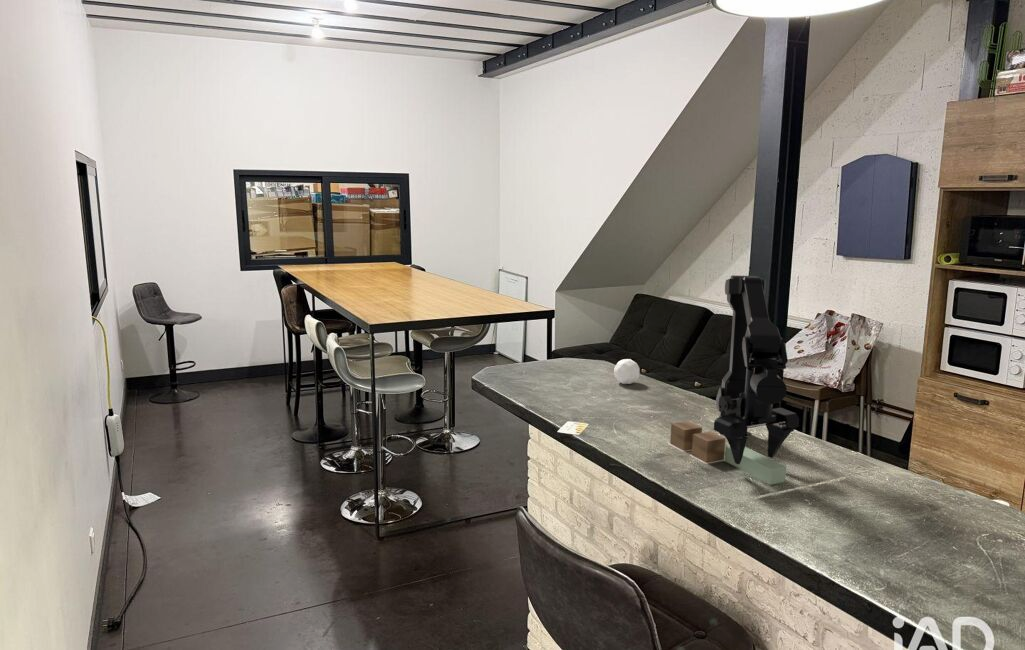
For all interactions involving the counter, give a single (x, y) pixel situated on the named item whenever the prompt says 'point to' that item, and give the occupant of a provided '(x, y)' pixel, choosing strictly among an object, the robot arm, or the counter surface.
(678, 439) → the brown wooden cube
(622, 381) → the white faceted ovoid
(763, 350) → the robot arm
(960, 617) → the counter surface
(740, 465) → the plank
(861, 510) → the counter surface
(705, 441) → the tan wood block
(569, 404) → the counter surface
